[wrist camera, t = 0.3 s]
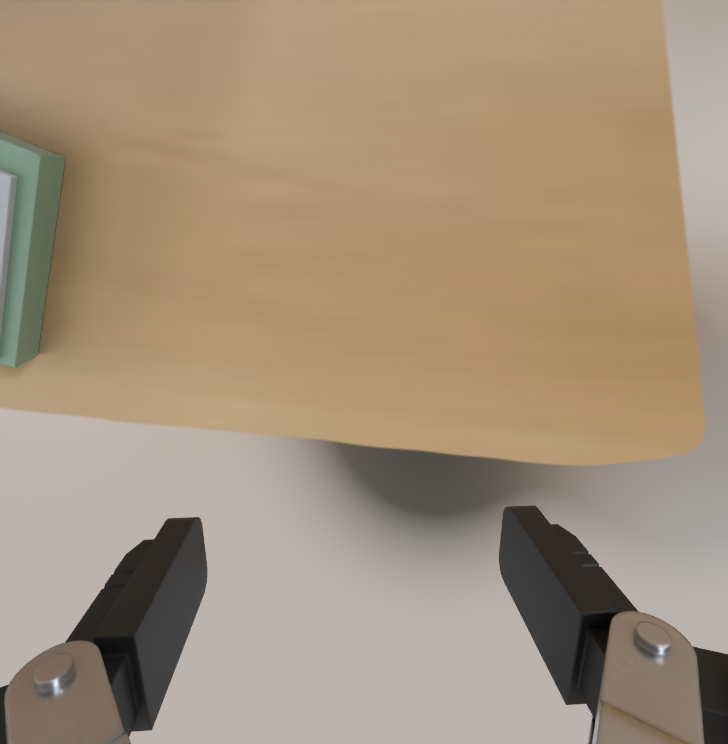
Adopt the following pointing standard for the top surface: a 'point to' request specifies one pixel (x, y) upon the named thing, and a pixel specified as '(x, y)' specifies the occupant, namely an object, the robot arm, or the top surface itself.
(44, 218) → the scale
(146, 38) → the top surface
